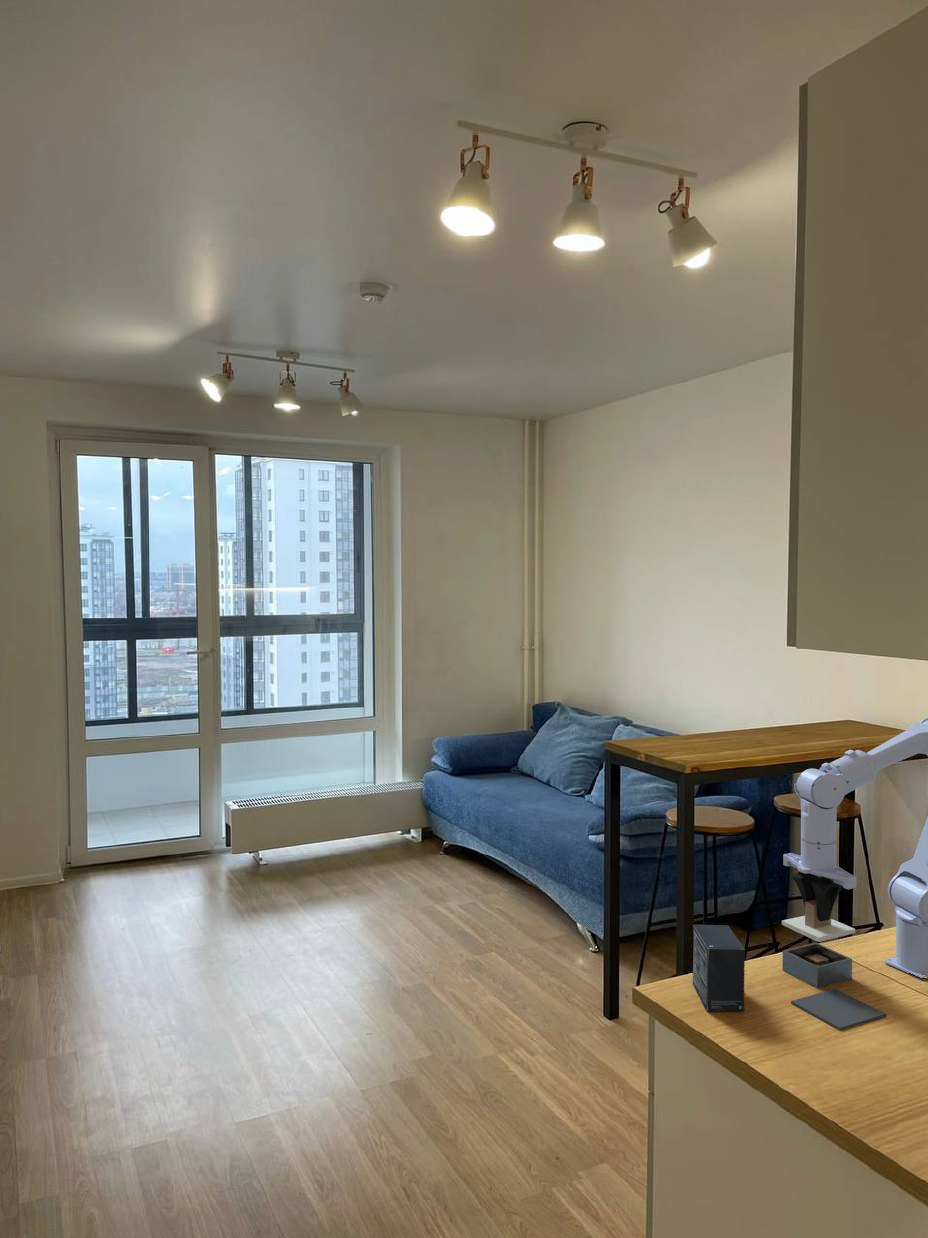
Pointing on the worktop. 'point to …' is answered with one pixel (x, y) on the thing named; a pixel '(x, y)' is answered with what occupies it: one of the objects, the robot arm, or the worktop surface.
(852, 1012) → the mat
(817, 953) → the tin
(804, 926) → the lid
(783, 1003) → the worktop surface
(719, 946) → the small box
